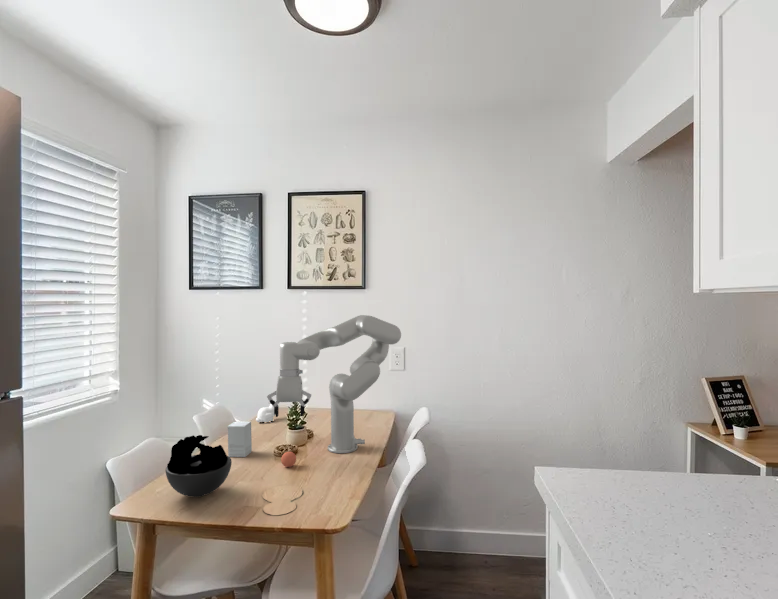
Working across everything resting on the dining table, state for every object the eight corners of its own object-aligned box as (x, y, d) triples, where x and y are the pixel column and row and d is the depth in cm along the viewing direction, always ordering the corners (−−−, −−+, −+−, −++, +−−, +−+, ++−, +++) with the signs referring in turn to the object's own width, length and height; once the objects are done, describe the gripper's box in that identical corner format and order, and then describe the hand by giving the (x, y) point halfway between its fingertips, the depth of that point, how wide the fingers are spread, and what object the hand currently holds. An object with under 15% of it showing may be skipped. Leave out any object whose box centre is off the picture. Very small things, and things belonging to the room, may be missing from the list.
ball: (296, 463, 178) (296, 449, 178) (295, 468, 173) (295, 454, 172) (281, 464, 177) (281, 449, 177) (280, 469, 172) (280, 454, 172)
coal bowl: (184, 481, 161) (183, 428, 161) (240, 482, 161) (240, 428, 161) (153, 508, 141) (152, 446, 141) (217, 508, 141) (216, 447, 141)
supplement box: (252, 451, 193) (252, 421, 193) (245, 457, 185) (244, 426, 185) (235, 450, 193) (235, 420, 193) (227, 457, 186) (227, 425, 186)
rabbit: (272, 418, 246) (272, 395, 246) (283, 421, 239) (282, 398, 239) (252, 422, 237) (252, 399, 237) (262, 426, 230) (262, 402, 230)
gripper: (311, 371, 189) (311, 413, 189) (268, 372, 187) (268, 414, 187) (310, 374, 182) (310, 417, 182) (265, 375, 180) (265, 419, 180)
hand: (289, 415), depth 184 cm, fingers open, 9 cm apart
